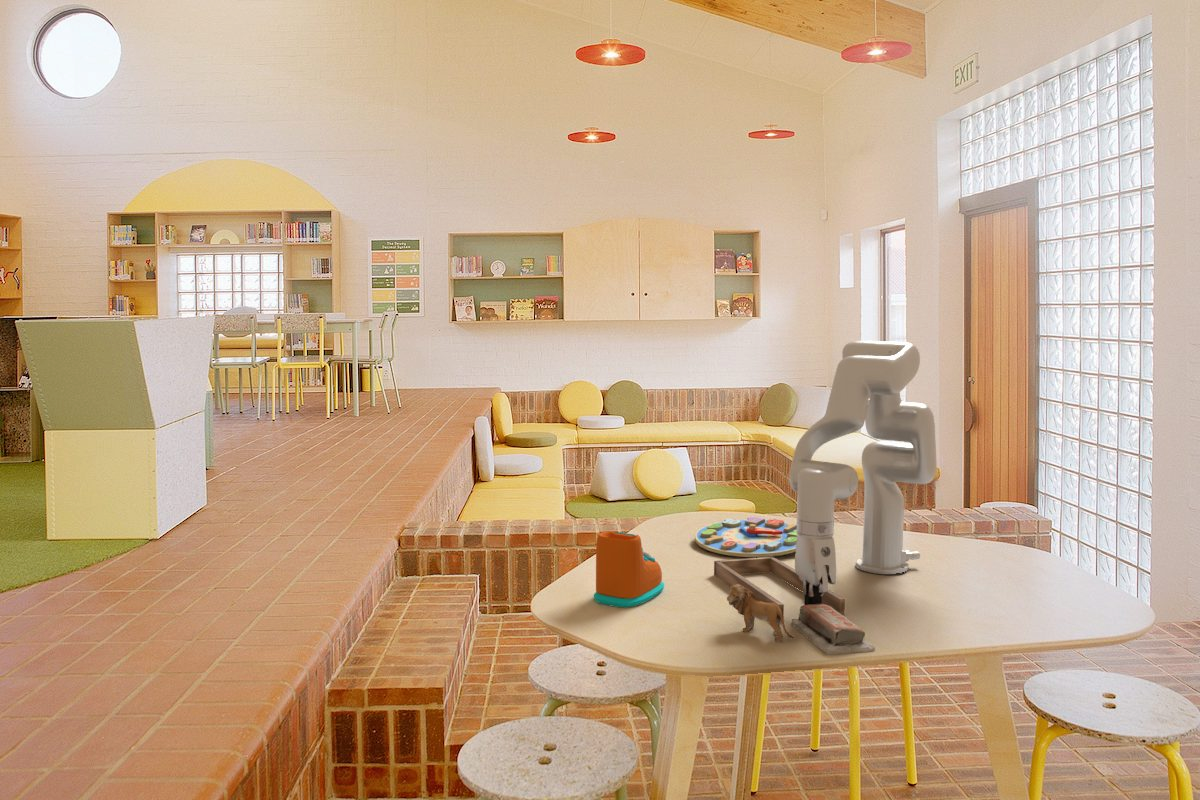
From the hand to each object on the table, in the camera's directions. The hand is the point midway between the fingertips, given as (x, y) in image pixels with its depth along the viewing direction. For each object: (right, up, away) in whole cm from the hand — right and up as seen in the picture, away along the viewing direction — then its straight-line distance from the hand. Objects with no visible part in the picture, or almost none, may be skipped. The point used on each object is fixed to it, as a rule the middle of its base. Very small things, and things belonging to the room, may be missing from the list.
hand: (812, 613), depth 208 cm
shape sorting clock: (-4, +5, +61) cm, 61 cm away
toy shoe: (-38, 0, +16) cm, 41 cm away
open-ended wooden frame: (-5, +1, +17) cm, 18 cm away
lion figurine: (-13, -2, -9) cm, 16 cm away
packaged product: (+1, -3, -11) cm, 11 cm away
